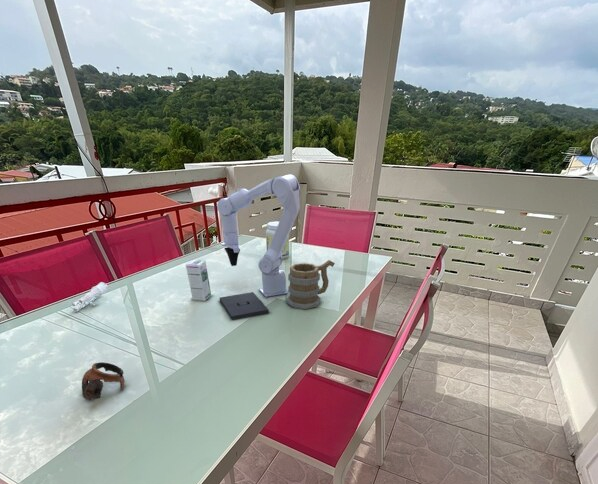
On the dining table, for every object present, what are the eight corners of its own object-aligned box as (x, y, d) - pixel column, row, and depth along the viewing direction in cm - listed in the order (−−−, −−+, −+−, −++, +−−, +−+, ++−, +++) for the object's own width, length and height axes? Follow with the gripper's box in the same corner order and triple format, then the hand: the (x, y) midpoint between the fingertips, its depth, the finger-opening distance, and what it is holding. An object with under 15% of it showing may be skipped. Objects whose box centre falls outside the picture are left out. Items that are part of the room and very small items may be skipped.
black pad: (253, 295, 137) (253, 292, 136) (261, 305, 129) (261, 301, 128) (219, 300, 132) (219, 297, 131) (226, 311, 124) (225, 307, 123)
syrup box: (205, 301, 131) (199, 265, 123) (191, 299, 132) (185, 263, 124) (211, 295, 136) (206, 260, 127) (198, 294, 137) (192, 259, 128)
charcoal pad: (259, 302, 131) (259, 299, 130) (268, 313, 123) (268, 309, 122) (225, 308, 126) (224, 305, 125) (232, 320, 118) (231, 316, 118)
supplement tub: (266, 253, 184) (265, 221, 174) (288, 252, 185) (288, 220, 176) (267, 260, 174) (265, 226, 164) (290, 259, 175) (290, 226, 166)
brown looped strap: (86, 384, 88) (94, 356, 86) (123, 394, 91) (132, 368, 89) (66, 404, 77) (75, 373, 75) (109, 415, 80) (119, 385, 78)
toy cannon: (81, 316, 123) (67, 306, 121) (103, 301, 134) (91, 292, 132) (89, 303, 119) (76, 293, 117) (112, 288, 130) (100, 279, 129)
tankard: (296, 311, 125) (297, 272, 116) (282, 299, 134) (281, 262, 125) (340, 301, 132) (344, 264, 124) (324, 290, 142) (326, 255, 133)
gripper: (216, 228, 135) (220, 261, 142) (224, 236, 124) (229, 272, 132) (232, 226, 137) (236, 259, 145) (243, 234, 126) (245, 269, 134)
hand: (233, 265), depth 139 cm, fingers closed
